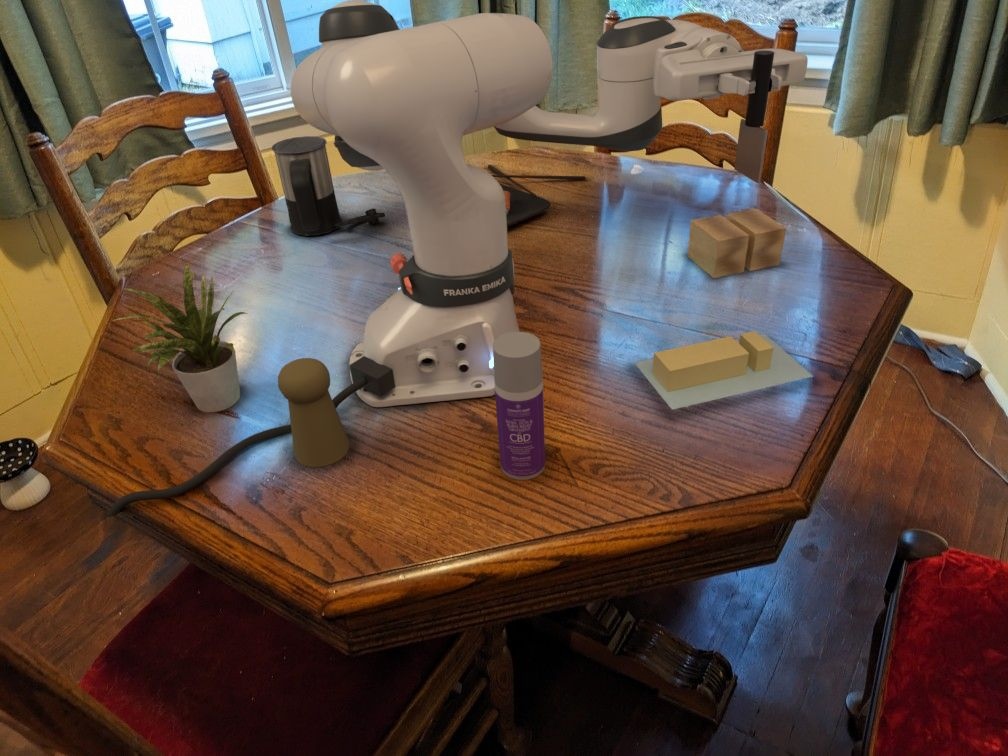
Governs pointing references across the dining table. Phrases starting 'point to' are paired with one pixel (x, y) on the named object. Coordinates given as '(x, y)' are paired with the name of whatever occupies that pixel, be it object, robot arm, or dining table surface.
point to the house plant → (195, 347)
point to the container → (519, 404)
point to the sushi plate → (524, 197)
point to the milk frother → (311, 187)
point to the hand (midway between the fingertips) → (763, 86)
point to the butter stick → (700, 363)
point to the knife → (755, 120)
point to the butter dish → (730, 380)
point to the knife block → (735, 242)
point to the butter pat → (756, 351)
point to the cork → (312, 413)
